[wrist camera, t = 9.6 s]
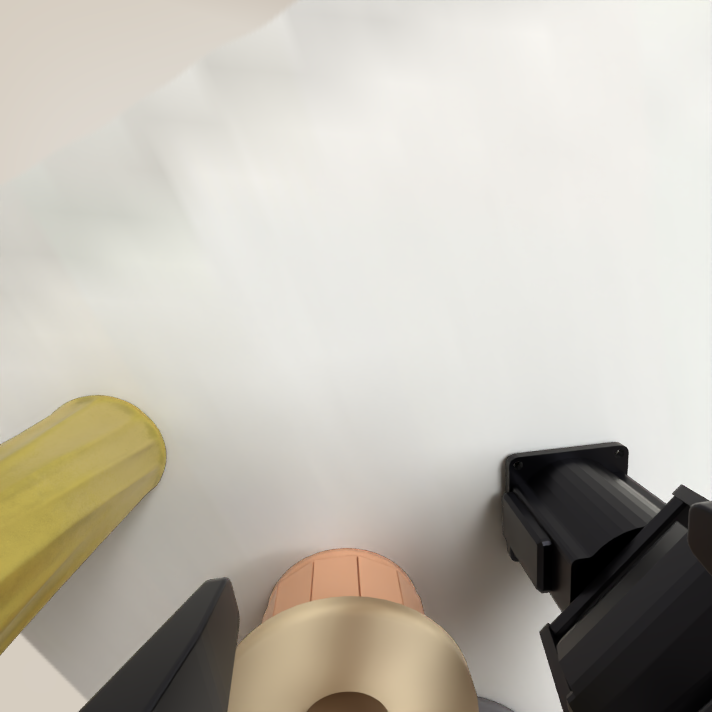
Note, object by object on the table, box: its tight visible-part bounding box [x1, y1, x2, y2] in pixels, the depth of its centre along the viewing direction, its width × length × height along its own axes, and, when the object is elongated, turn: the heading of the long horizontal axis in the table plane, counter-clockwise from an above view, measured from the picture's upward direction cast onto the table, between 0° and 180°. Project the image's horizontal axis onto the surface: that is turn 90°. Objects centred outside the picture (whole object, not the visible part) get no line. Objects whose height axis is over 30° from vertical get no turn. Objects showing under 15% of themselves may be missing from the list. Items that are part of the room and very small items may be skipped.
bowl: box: [262, 548, 425, 623], centre depth 21 cm, size 9×9×5 cm
